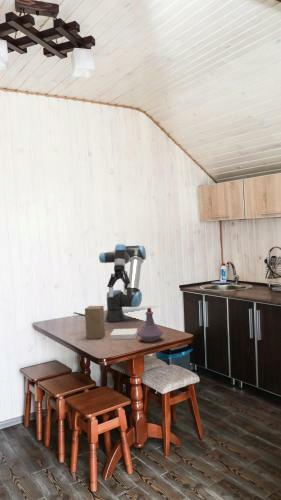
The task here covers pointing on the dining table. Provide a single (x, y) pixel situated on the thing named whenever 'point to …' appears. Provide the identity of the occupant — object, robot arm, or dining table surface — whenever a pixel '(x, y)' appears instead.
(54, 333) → the dining table surface
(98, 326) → the wooden block
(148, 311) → the flask
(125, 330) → the white square plate
